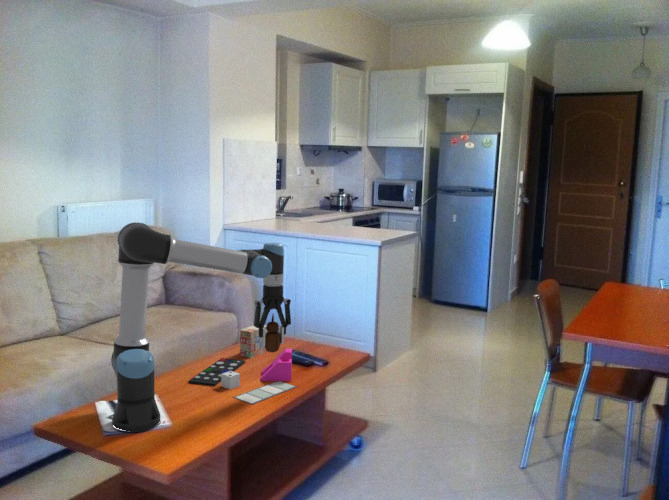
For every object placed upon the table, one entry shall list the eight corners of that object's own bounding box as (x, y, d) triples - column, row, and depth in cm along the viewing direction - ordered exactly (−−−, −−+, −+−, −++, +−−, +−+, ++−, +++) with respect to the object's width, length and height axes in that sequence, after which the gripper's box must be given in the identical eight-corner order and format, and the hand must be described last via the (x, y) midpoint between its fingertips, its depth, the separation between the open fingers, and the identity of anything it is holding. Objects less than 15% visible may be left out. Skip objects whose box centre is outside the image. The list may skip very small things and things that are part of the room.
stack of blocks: (268, 344, 298) (268, 319, 296) (279, 347, 295) (279, 321, 293) (239, 356, 280) (239, 329, 278) (250, 358, 277) (251, 331, 275)
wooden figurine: (277, 354, 233) (277, 315, 231) (262, 353, 234) (262, 314, 232) (282, 349, 240) (282, 311, 238) (267, 347, 241) (268, 309, 239)
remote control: (245, 363, 270) (245, 359, 270) (214, 387, 241) (214, 382, 241) (221, 361, 273) (221, 356, 273) (188, 384, 244) (188, 379, 244)
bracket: (291, 372, 260) (291, 348, 258) (291, 381, 250) (291, 356, 248) (262, 372, 259) (262, 348, 258) (260, 381, 249) (261, 356, 248)
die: (230, 389, 239) (230, 376, 238) (221, 386, 242) (221, 373, 241) (239, 386, 243) (239, 373, 242) (230, 383, 246) (230, 370, 245)
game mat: (252, 404, 224) (252, 404, 224) (233, 397, 230) (233, 397, 230) (296, 387, 243) (296, 386, 243) (278, 380, 249) (278, 380, 249)
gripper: (251, 288, 226) (250, 349, 229) (301, 284, 234) (300, 344, 238) (244, 284, 232) (244, 344, 235) (293, 281, 241) (292, 338, 244)
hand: (272, 344), depth 237 cm, fingers closed on wooden figurine, 7 cm apart
